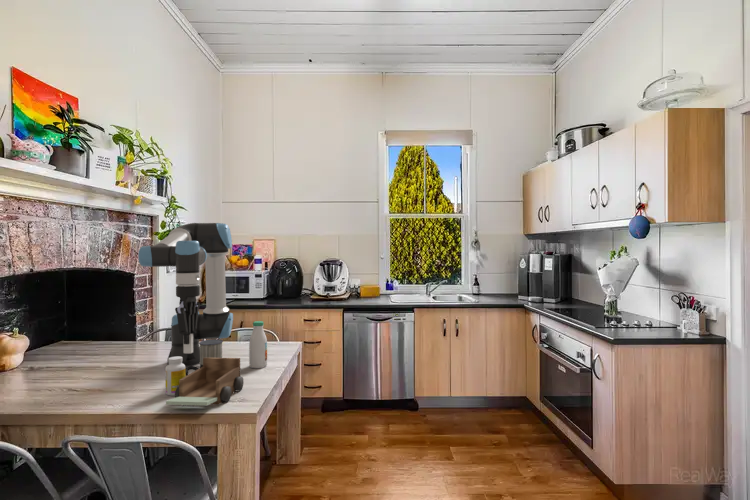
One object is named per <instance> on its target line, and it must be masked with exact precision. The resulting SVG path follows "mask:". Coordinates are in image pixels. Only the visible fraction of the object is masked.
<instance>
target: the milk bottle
mask: <svg viewBox="0 0 750 500" xmlns="http://www.w3.org/2000/svg"><path fill="white" fill-rule="evenodd" d="M264 325H265V324H264V321H262V320H258V321H257V320H256V321H253V322H252V327H253V330H252V332H251V334H250V337H249V345H248V346H249V347H248V349H249V350H248V351H249V353H248V355H249V356H248V357H249V359H248V360H249V361H248V362H249V363H248V365H249V367H250V368H251V369H262V368H265V367H267V366H268V339H267V338H268V337H267V336H266V333H265V330H264Z"/></svg>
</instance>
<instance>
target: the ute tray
mask: <svg viewBox="0 0 750 500" xmlns="http://www.w3.org/2000/svg"><path fill="white" fill-rule="evenodd" d="M198 368H199V369H197V370H196V371H195V370H194V371H192V372H191V373H188V375H187V376H185V377H184V378H182V379H180V380H179V386H178V387H177V389H176V391H175V395H174V398H176V397H215V398H217V401H215V402H213V403H211V404H210V405H221V404H222V403H223V402H224V403H226V402H227V403H229V402H230V401H231V397H232V395H233V394H234V393H235V392H241V391H242V390H243V388H244V382H245V381H244V378H243V376H241V358H240V357H222V358H203V367H201V368H200V367H198Z"/></svg>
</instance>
